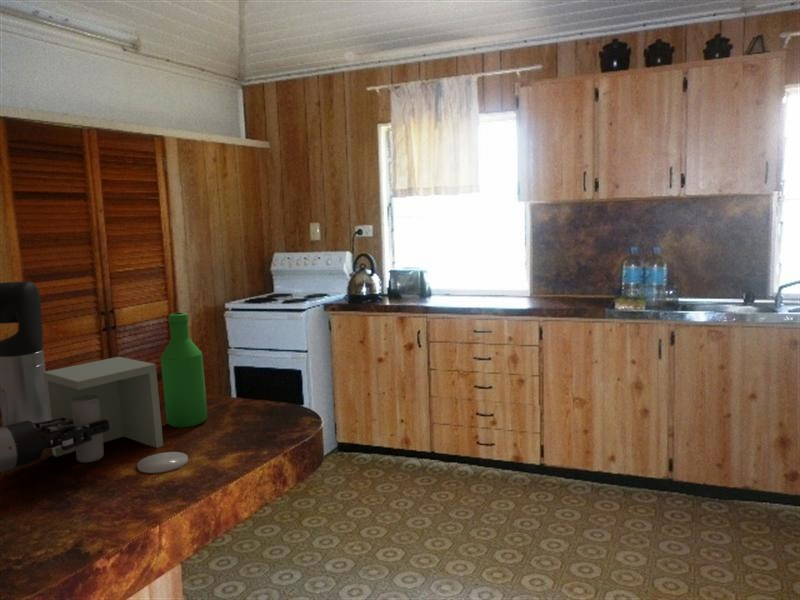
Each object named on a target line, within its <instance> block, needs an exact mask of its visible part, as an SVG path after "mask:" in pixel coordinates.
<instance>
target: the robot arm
mask: <svg viewBox="0 0 800 600" xmlns="http://www.w3.org/2000/svg"><path fill="white" fill-rule="evenodd" d="M41 300H42V299H41V293H40V291H39V288H38V287H37V285H36V284H35V283H33V282H32V281H10V282H9V281H7V282H0V324H3V325H4V324H18V330H17V332H16V333H14V334H12V335H11V336H9V337H5V338H4V339H1V340H0V413H1V414H0V415H1V421H2V426H1V427H0V473H2V472H6V471H9V470H12V469H15V468H18V467H22V466H23V467H24V466H27V465H29V464H33V463H36V462H38V461H39V460H40V459H41V457H42V453H43V451H44V450H45V449H49V450H52V449H56V448H59V447H60V446H62V450H68V449H70V448H73V447H76V446H78V445H81V444H83V443H86V442H89V441H91V440H92V437H91V436H92V435H96V434H99V433H103V432H106V431H108V430H109V421H108V420H101V421H97V422H93V423H89V424H84V425H79V426H75V425H74V424H73V419H71V418H70V419H67V420H66V418H60V419H55V420H50V421H49V417H48V409H47V400H46V392H45V383H44V375H43V372H46V363H45V362H46V361H45V353H44V345H43V341H44V340H43V339H44V338H43V337H44V330H43V320H42V301H41ZM82 433H83V435H81V434H82Z"/></svg>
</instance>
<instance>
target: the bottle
mask: <svg viewBox="0 0 800 600" xmlns="http://www.w3.org/2000/svg"><path fill="white" fill-rule="evenodd" d="M189 320H190V319H189V316H188V313H186V312H173V313H171V314H169V315H168V320H167V322H168V323H169V329H170V330H169V331H170V332H169V333H170V340H169V343H168V344H167V346H166V348H165V349H164V351H163V353H162V354H161V356H160V366H161V375H162V388H163V396H164V397H163V398H164V399H163V400H164V408H165V417H166V418H165V420H166V423H167V424H168V425H169V426H171V427H173V428H176V427H178V428H179V429H185V428H184V427H186V428H191V426H192V427H196V426H199V425H201V424H203V423H204V422H205V421H206V419H207V418H208V406H207V395H206V383H205V371H204V370H205V369H204V359H203V357H204V356H203V353H202V351H201V350H200V349H199V347H198V346H197V345H196V344H195V343H194V342H193V340H192V339H191V338H190V332H189ZM198 424H199V425H198ZM195 425H196V426H195ZM182 427H183V428H182Z"/></svg>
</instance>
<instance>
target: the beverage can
mask: <svg viewBox="0 0 800 600" xmlns="http://www.w3.org/2000/svg"><path fill="white" fill-rule="evenodd" d="M71 401H72V403H71V409H72V418H73V424H74V425H75V426H79V425H84V424H89V423H93V422H97V421H101V416H100V405H99V399H98V396H96V395H84V396H79V397H75V398H73V399H72V400H71ZM81 435H83V433H82V434H81ZM91 437H92V440H91V441H89V442H86V443H83V444H81V445H78V446H76V451H75V456H76V460H77V461H78V462H79V463H84V464H85V463H93V462H97V461H99V460H101V459H102V458H103V457H104V454H105V451H104V443H103V437H102V433H99V434H96V435H92V436H91Z"/></svg>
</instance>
